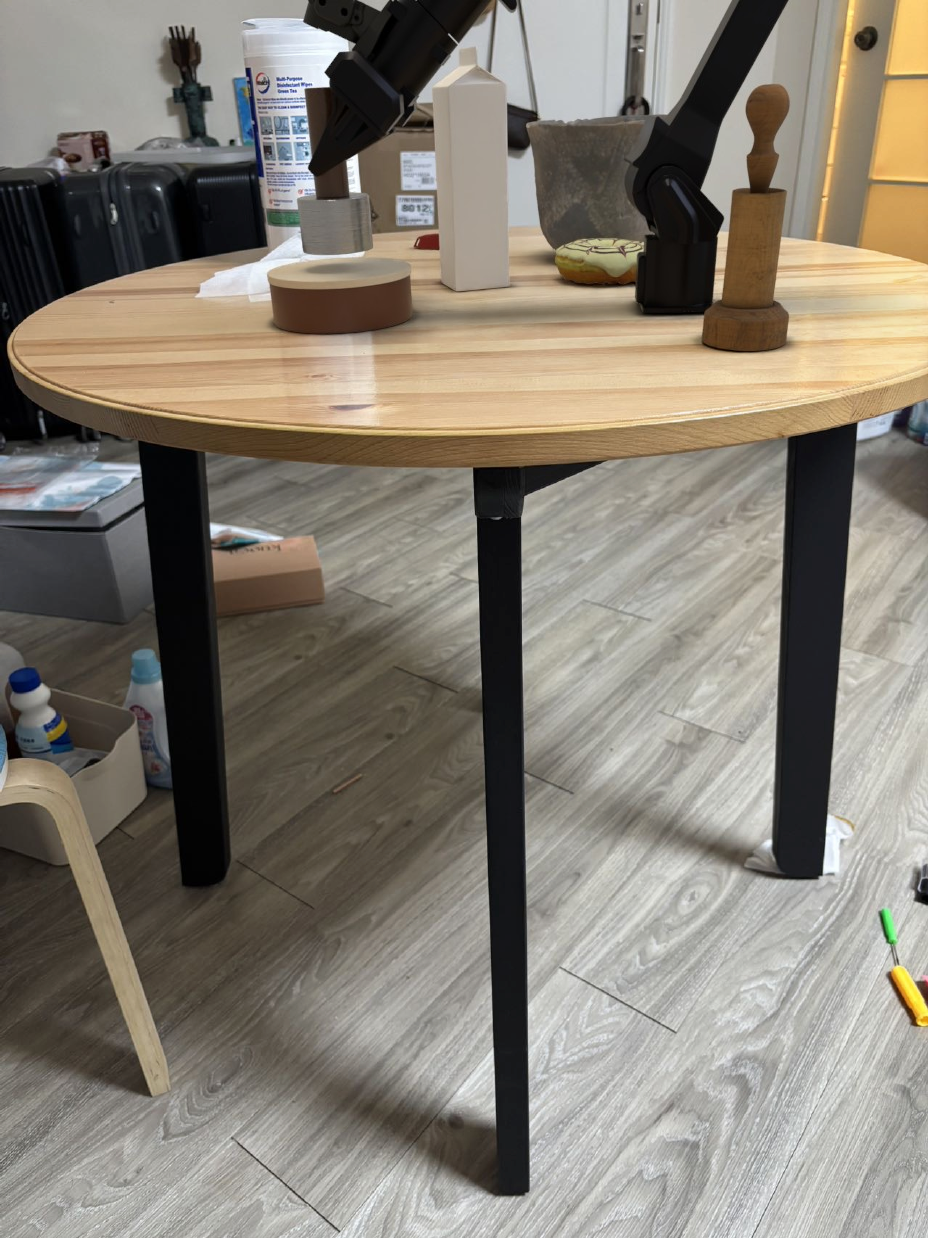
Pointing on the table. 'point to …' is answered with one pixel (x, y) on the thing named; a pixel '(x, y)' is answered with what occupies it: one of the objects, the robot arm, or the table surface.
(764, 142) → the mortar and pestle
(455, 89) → the milk
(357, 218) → the brown and silver tamper
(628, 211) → the grey stone pot
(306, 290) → the cake
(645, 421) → the table surface
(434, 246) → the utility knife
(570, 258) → the decorated donut
